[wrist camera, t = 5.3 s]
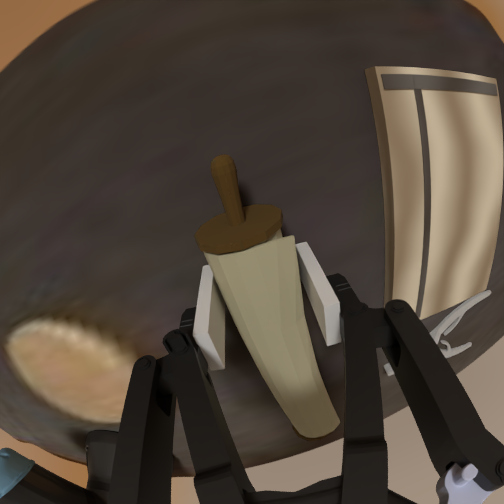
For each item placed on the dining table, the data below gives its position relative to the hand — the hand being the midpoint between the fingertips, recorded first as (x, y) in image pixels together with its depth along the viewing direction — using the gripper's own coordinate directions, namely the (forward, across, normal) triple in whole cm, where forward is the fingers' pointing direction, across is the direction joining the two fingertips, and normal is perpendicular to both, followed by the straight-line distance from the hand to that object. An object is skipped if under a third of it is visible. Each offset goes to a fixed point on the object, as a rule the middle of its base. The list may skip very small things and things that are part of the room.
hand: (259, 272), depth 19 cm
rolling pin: (+1, -1, +8) cm, 8 cm away
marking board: (+1, -16, -1) cm, 16 cm away
